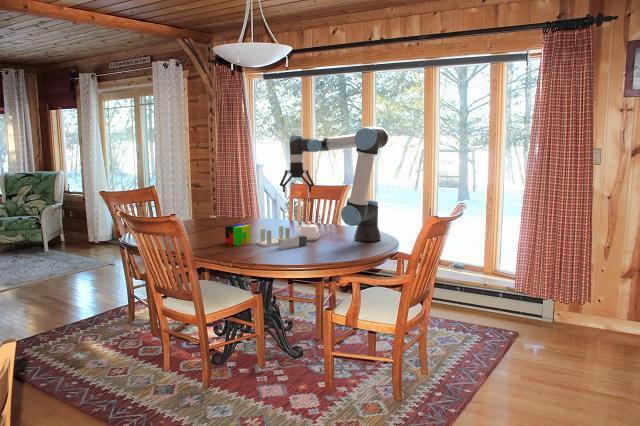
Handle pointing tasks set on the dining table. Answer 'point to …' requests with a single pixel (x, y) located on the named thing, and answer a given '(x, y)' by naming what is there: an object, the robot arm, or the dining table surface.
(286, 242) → the bar
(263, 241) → the rack
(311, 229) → the teapot
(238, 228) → the puzzle toy
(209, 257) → the dining table surface
